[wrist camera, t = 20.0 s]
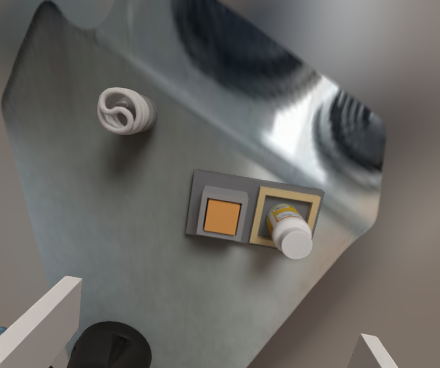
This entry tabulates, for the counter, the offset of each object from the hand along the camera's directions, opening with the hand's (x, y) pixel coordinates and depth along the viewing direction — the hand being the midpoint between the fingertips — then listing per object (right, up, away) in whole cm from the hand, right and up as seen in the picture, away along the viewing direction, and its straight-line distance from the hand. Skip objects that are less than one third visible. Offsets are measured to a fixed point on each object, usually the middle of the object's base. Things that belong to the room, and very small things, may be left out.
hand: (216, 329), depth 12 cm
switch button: (+1, +3, +29) cm, 30 cm away
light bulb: (-11, +18, +29) cm, 36 cm away
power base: (+6, +2, +32) cm, 32 cm away
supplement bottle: (+10, +1, +30) cm, 32 cm away
